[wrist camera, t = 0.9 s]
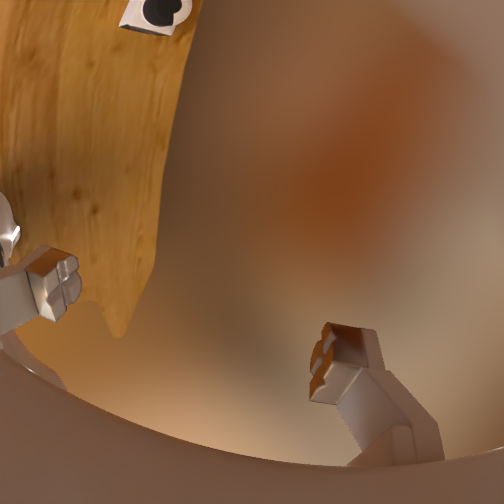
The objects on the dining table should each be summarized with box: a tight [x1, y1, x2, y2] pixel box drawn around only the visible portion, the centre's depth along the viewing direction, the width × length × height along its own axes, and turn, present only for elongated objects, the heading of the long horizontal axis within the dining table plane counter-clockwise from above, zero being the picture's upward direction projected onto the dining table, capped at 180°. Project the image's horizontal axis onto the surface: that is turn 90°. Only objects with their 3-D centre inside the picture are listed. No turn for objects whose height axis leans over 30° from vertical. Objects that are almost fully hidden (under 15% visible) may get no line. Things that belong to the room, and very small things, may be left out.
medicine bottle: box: [119, 0, 192, 36], centre depth 28 cm, size 7×7×12 cm
